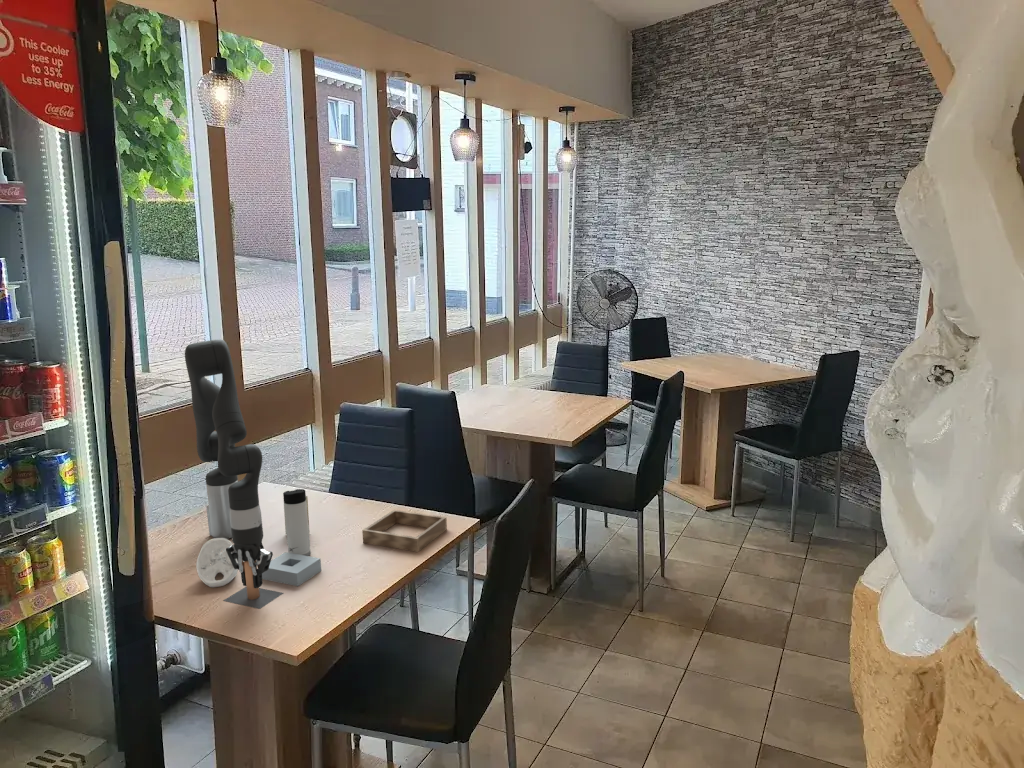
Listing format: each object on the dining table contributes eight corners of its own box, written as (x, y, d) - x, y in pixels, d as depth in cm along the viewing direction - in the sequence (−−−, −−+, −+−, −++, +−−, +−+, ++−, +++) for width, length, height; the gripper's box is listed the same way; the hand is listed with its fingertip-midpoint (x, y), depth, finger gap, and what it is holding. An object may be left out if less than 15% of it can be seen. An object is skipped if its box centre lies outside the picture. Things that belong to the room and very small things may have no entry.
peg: (245, 598, 197) (241, 562, 195) (253, 593, 200) (249, 557, 198) (254, 600, 196) (250, 563, 194) (262, 595, 199) (258, 559, 197)
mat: (223, 602, 196) (222, 600, 196) (247, 586, 204) (247, 585, 204) (260, 610, 192) (259, 608, 191) (283, 594, 200) (283, 592, 200)
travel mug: (291, 561, 219) (285, 495, 215) (286, 553, 225) (280, 488, 221) (313, 556, 222) (307, 491, 218) (307, 548, 228) (302, 484, 224)
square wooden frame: (363, 542, 231) (362, 530, 230) (394, 521, 247) (394, 509, 247) (417, 551, 224) (417, 538, 223) (446, 529, 240) (446, 517, 239)
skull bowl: (243, 557, 219) (237, 532, 211) (241, 601, 210) (235, 576, 201) (204, 561, 217) (197, 536, 209) (200, 605, 207) (192, 581, 199)
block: (262, 580, 208) (261, 566, 207) (286, 565, 217) (285, 552, 216) (298, 587, 203) (296, 573, 202) (321, 571, 212) (320, 558, 211)
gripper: (214, 524, 193) (220, 587, 197) (257, 531, 188) (264, 596, 191) (235, 514, 200) (241, 575, 203) (278, 520, 194) (284, 584, 198)
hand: (252, 585), depth 197 cm, fingers closed on peg, 3 cm apart
